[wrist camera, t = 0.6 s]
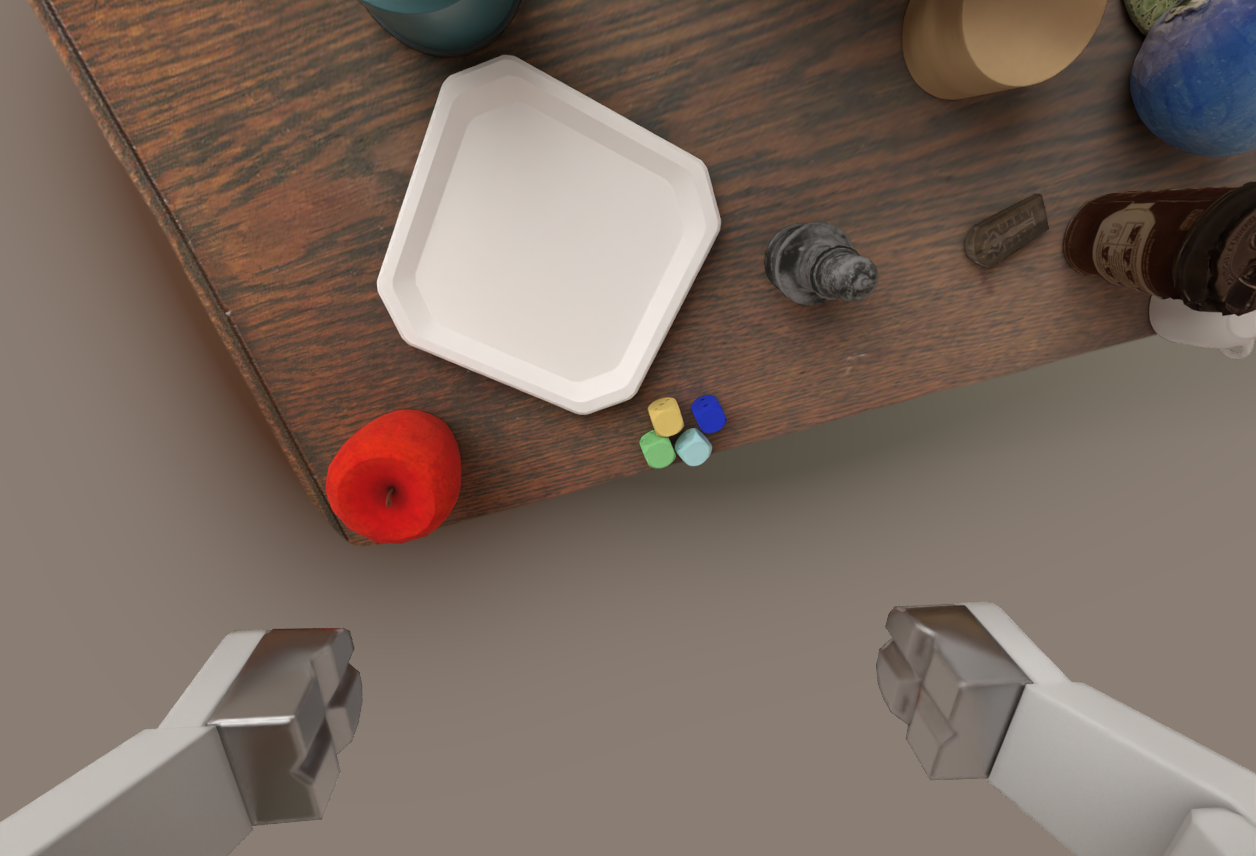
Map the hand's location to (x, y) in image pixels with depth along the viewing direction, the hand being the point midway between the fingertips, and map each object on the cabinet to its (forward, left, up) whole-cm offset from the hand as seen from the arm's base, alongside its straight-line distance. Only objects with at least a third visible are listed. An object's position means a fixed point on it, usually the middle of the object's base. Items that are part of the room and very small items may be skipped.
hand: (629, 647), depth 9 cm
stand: (-20, +24, -40) cm, 51 cm away
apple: (+16, -11, -40) cm, 44 cm away
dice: (+13, +13, -38) cm, 42 cm away
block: (-8, +32, -38) cm, 50 cm away
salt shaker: (-4, +16, -40) cm, 43 cm away
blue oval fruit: (-25, +33, -35) cm, 54 cm away
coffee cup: (-9, +40, -40) cm, 58 cm away
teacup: (-5, +52, -34) cm, 63 cm away
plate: (-1, -2, -40) cm, 40 cm away
